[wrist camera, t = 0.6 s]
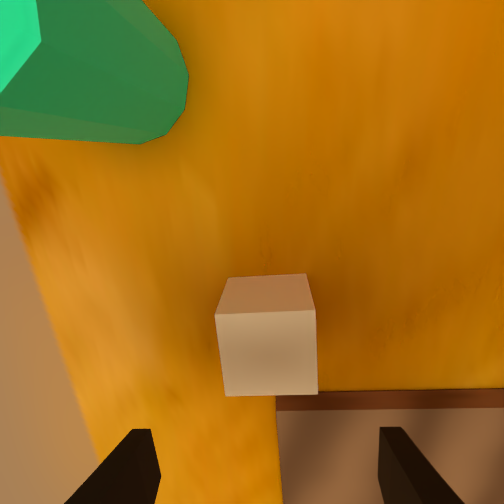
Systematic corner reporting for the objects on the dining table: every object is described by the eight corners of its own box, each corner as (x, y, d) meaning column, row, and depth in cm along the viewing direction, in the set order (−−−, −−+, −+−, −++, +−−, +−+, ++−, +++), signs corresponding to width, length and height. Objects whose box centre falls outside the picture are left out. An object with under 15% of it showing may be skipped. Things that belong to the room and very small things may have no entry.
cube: (305, 272, 18) (315, 310, 14) (308, 340, 19) (318, 394, 15) (228, 277, 18) (214, 314, 14) (236, 343, 20) (225, 396, 15)
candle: (123, 167, 17) (-201, 197, 5) (46, 62, 15) (-596, -192, 4) (213, 98, 15) (37, -56, 4) (137, -23, 14) (-437, -750, 3)
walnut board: (540, 387, 19) (561, 407, 18) (505, 544, 23) (520, 570, 22) (275, 393, 20) (275, 411, 19) (287, 539, 25) (288, 562, 23)
